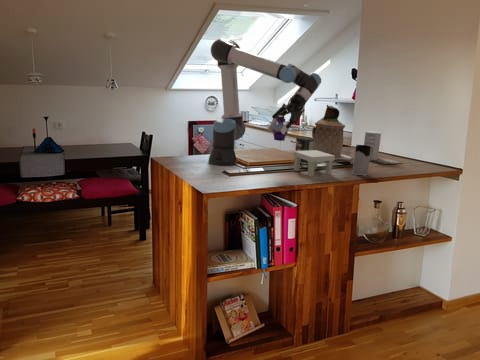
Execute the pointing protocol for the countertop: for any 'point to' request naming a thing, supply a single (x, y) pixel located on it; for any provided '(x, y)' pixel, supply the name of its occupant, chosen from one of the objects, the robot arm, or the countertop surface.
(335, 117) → the cookie jar
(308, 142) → the coffee can
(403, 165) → the countertop surface
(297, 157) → the footstool
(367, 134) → the supplement box
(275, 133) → the potion bottle
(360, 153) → the glass holder
